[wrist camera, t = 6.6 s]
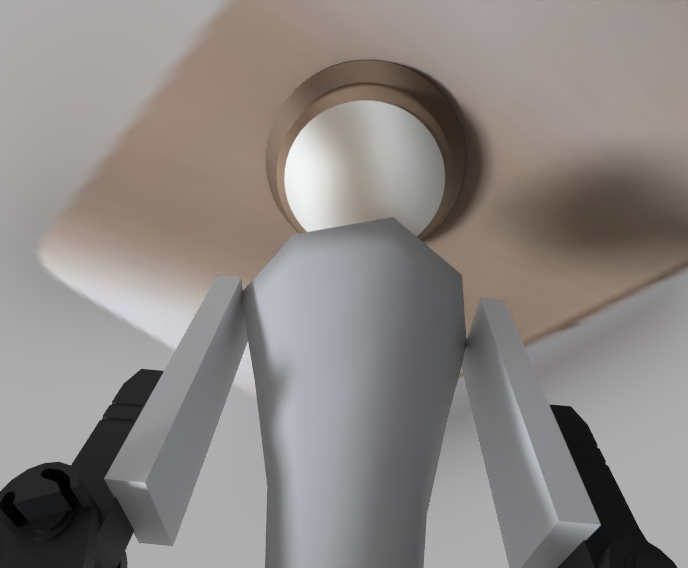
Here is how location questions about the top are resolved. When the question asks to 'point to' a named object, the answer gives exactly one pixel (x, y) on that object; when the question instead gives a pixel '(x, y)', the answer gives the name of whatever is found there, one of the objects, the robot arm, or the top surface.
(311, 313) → the flask
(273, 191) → the pedestal
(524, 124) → the top surface
